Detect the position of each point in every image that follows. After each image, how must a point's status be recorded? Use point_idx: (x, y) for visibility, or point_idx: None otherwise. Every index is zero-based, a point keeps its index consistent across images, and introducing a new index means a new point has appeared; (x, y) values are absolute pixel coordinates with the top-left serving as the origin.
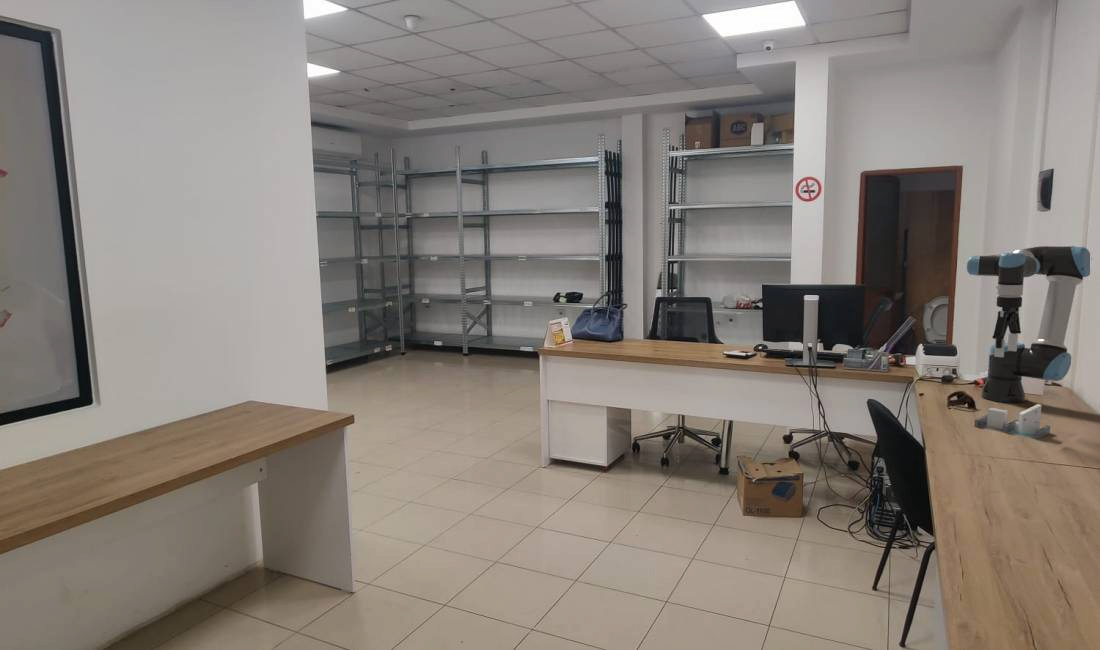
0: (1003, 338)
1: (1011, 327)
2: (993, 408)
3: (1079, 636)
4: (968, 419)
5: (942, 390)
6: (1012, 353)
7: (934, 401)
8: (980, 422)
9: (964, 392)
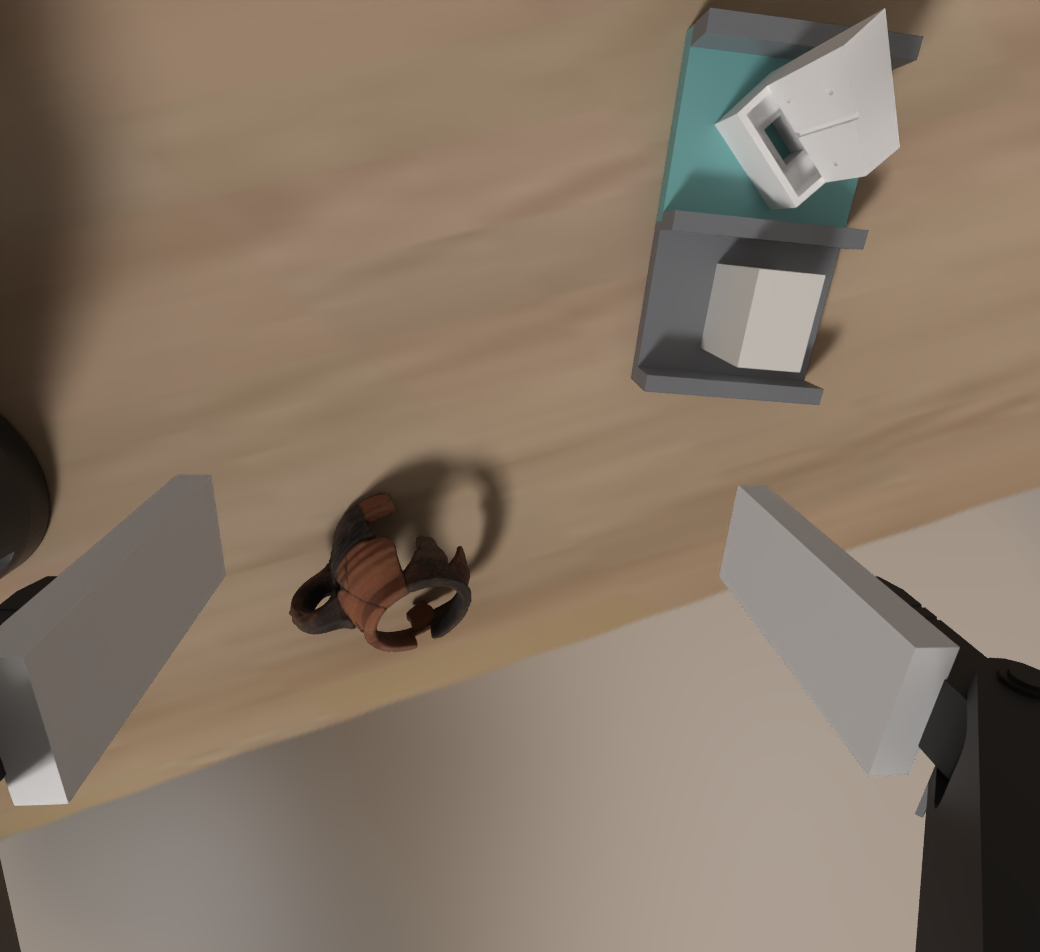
0: (1023, 668)
1: (10, 931)
2: (753, 354)
3: None
4: (596, 469)
5: None
6: None
7: (339, 684)
8: (778, 381)
9: (396, 599)
